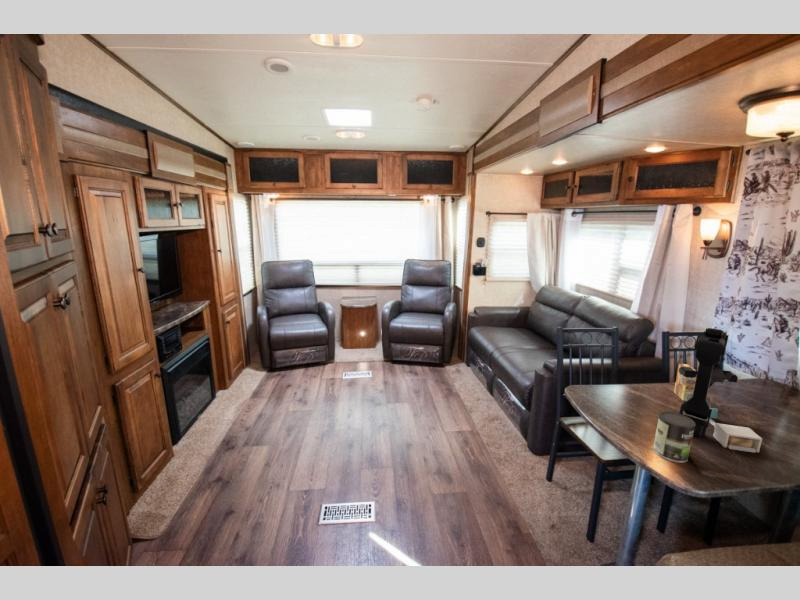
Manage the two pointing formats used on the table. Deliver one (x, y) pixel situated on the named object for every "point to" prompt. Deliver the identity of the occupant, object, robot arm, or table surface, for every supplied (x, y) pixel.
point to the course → (736, 434)
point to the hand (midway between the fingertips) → (703, 392)
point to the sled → (714, 415)
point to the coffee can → (673, 436)
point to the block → (740, 441)
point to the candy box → (684, 384)
